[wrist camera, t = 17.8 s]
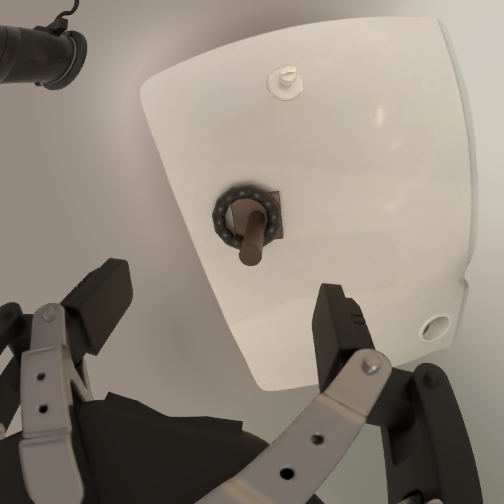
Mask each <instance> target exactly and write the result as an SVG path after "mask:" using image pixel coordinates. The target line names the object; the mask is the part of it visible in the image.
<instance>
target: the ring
mask: <svg viewBox="0 0 504 504" xmlns="http://www.w3.org/2000/svg"><path fill="white" fill-rule="evenodd" d="M248 198H249V199H251V200H254V201H256V202H259V203H260V204H261V205H262V206H263V208H264V209H265V210H266V212H267V218H268V223H267V226H266V228H265V230H264V239H263V247H264V246H265V245H267V244H268V243H270V242H271V241H273V240H274V238H275V236H276V234H277V232H278V230H279V228H280V226H281V219H280V209H279V206H278V205H277V203H276V202H275V201H274V199H273V198H272V197H271V195H270V194H269V193H268V192H266V191H264V190H261V189H259V188H257V187H254V186H252V185H248V186H239V187H233V188H231V189H230V190H228V191H227V192H226V193H224V194H223V195H222V196H220V197H219V198H218V200H217V202H216V205H215V208H214V210H213V213H212V218H213V223H214V228H215V232H216V233H217V234H218V235H219V237H220V238H221V239H222V240H223V241H224V243H225V244H227V245H229V246H231V247H234V248H236V249H239V250H240V249H241V245H242V241H243V238H241V237H239V236H237V235H234V234H233V233H232V232H231V231H230V229H229V228H228V227H227V225H226V219H225V214H226V212H227V209H228V207H229V206H230V205H231V204H232V203H234V202H235V201H236V200H239V199H248Z"/></svg>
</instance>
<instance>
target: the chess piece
mask: <svg viewBox="0 0 504 504" xmlns="http://www.w3.org/2000/svg"><path fill="white" fill-rule="evenodd" d="M267 86H268V90H269V91H270V93H271V94H272V95H273V96H274V97H276V98H277V99H280V100H292V99H295V98H296V97H298V96H299V95H300V94H301V92H302V90H303V80H302V77H301V76H300V74H299V73H298V72H297V69H296V68H294V67H292V66H283V67H282V68H279V69H276V70H275V71H273V72H272V73H271V74H270V76H269V77H268V81H267Z"/></svg>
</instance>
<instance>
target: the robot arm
mask: <svg viewBox="0 0 504 504" xmlns="http://www.w3.org/2000/svg"><path fill="white" fill-rule="evenodd" d="M78 5H79V0H75V3H74V7H73V8H72V10H71V11H64V12H62V13H60V14H59V15H58V16H57V17H56V19H55V20H54V22H53V23H51V24H50V25H48V26H47V27H43V26H36V27H35V28H33V29H27V28H20V27H12V26H3V25H0V84H7V83H35V85H36V86H42V85H41V84H40V83H58V82H60V81H61V80H63V79H64V78H65V77H66V76H67V75H68V74H69V73H70V71H71V70H72V68H73V66H74V64H75V62H76V59H77V55H78V44H77V42H76V40H75V39H74V38H72V33H68V32H64V31H65V30H67V25H68V20H67V19H64V18H61V17H62V16H64V15H71V14H73V13H74V12H75V11H76V9H77V7H78ZM132 298H133V289H132V284H131V278H130V272H129V266H128V262H127V261H126V260H121V259H114V258H109V259H108V260H107V261H106V262H105V263H104V264H103V265H102V266H101V267H100V268H97V269H95V270H94V271H92V272H90V273H89V274H88V275H87V276H86V277H85V278H84V279H83V281H81V282H80V283H79V284H78V285H77V287H75V288H74V289H73V290H72V291H71V292H70V293H69V294H68V295H67V296H66V297H65V298H64V299H63V301H62V302H61V303H60V304H57V303H49V304H46V305H44V306H42V307H40V308H39V309H38V310H37V311H36V312H35V313H34V314H23V312H22V310H21V308H20V306H19V304H18V303H15V302H10V303H7V304H5V305H3V306H1V307H0V355H1V353H2V352H3V350H4V349H5V348H6V346H7V345H8V346H9V348H10V350H11V351H12V353H13V355H14V356H13V358H12V359H11V360H10V362H9V364H8V365H7V366H6V368H5V369H4V371H3V372H2V374H1V375H0V504H324V503H323V502H322V501H321V499H320V498H319V497H318V496H317V495H316V494H315V492H316V491H317V489H318V488H319V487H320V486H321V484H322V483H323V482H324V481H325V480H326V478H327V477H328V476H329V474H330V473H331V472H332V471H333V469H334V468H335V467H336V465H337V464H338V463H339V461H340V460H341V459H342V457H343V456H344V454H345V453H346V452H347V450H348V449H349V447H350V446H351V444H352V443H353V441H354V440H355V438H356V437H357V435H358V434H359V432H360V431H361V429H362V427H363V426H364V424H365V423H367V424H372V425H376V426H380V428H381V435H382V442H383V449H384V458H385V467H386V477H387V489H388V504H483V499H482V493H481V487H480V483H479V477H478V472H477V468H476V463H475V459H474V455H473V451H472V448H471V445H470V440H469V437H468V434H467V430H466V427H465V424H464V421H463V418H462V415H461V412H460V409H459V406H458V403H457V401H456V398H455V395H454V393H453V390H452V387H451V385H450V383H449V380H448V378H447V375H446V374H445V372H444V371H443V370H442V369H441V368H440V367H438V366H436V365H434V364H431V363H422V364H420V365H418V366H417V367H416V369H415V370H414V372H409V371H405V370H400V369H396V368H393V367H392V366H391V363H390V361H389V359H388V358H387V357H386V356H385V355H384V354H382V353H381V352H379V351H376V350H375V347H374V344H373V341H372V338H371V335H370V333H369V330H368V327H367V325H366V322H365V319H364V317H363V314H362V311H361V309H360V306H359V305H358V304H357V303H356V302H355V301H354V300H353V299H352V298H345V295H344V292H343V289H342V287H341V285H337V284H326V283H322V284H321V286H320V290H319V294H318V298H317V302H316V306H315V310H314V313H313V319H312V332H313V339H314V347H315V354H316V362H317V371H318V379H319V388H320V393H319V394H318V395H317V396H316V397H315V398H314V399H313V400H312V401H311V403H309V405H308V406H307V407H306V408H305V409H304V410H303V411H302V412H301V414H300V415H299V416H298V417H297V418H296V419H295V420H294V421H293V422H292V423H291V424H290V425H289V426H288V427H287V428H286V429H285V430H284V432H283V433H282V434H280V435H279V437H277V439H275V440H274V441H273V442H272V443H271V444H269V443H267V442H266V441H264V440H263V439H261V438H259V437H258V436H255V435H253V434H251V433H249V432H245V431H243V430H242V424H243V421H235V420H228V419H220V418H214V417H208V416H205V417H204V416H203V417H168V416H165V415H163V414H161V413H159V412H157V411H156V410H153V409H152V408H150V407H148V406H146V405H144V404H142V403H141V402H139V401H137V400H133V399H130V398H126V397H123V396H120V395H117V394H114V393H111V392H108V394H107V396H106V398H105V400H94V399H93V396H92V392H91V388H90V383H89V378H88V373H87V367H86V362H85V359H84V355H85V354H86V353H89V354H92V355H95V356H97V355H98V353H99V351H100V349H101V348H102V347H103V345H104V344H105V342H106V340H107V339H108V337H109V336H110V334H111V333H112V331H113V330H114V328H115V327H116V325H117V324H118V322H119V320H120V319H121V317H122V316H123V314H124V313H125V311H126V310H127V309H128V307H129V306H130V304H131V302H132ZM20 404H21V418H22V429H23V430H22V431H20V432H18V433H15V434H13V435H11V436H9V437H5V433H6V431H7V429H8V427H9V425H10V423H11V421H12V419H13V417H14V415H15V413H16V411H17V409H18V407H19V405H20Z"/></svg>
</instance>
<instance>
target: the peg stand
mask: <svg viewBox="0 0 504 504" xmlns="http://www.w3.org/2000/svg"><path fill="white" fill-rule="evenodd" d="M268 193H269V194H270V195H271V197H272V198H273V199H274V201H275V202H276V203H277V205H278V206H279V209H280V219H281V226H280V228H279V230H278V232H277V234H276V236H275V238H274V239H283V229H282V218H281V207H280V197H279V191H275V192H268ZM231 208H232V215H233V221H234V227H235V234H236V235H237V236H239V237H241V238H243V241H242V245H241V249H240V253H239V258H240V260H241V262H242V263H243V264H245V265H247V266H254V265H257V264H258V263H259V262H260V261H261V258H262V249H263V239H264V230H265V228H266V226H267V223H268V218H267V212H266V210H265V209H264V208H263V206H262V205H261V204H260V203H259V202H256V201H254V200H251V199H249V198H248V199H239V200H236V201H235V202H234V203H232V204H231Z"/></svg>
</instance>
